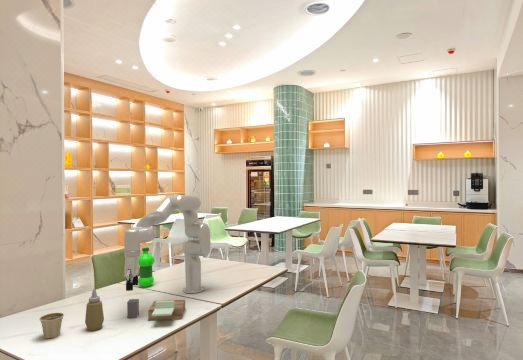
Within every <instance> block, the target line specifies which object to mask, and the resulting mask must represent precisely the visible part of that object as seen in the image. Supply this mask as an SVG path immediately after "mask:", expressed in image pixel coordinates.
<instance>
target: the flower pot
mask: <svg viewBox="0 0 523 360" xmlns="http://www.w3.org/2000/svg"><path fill="white" fill-rule="evenodd" d="M64 316H65V313H63V312H52V313H45V314H44V315H41V316H40V317H39V321H40V323H41V328H42V334H43V338H44V339H51V338H52V339H55V338H57V337H59V336H60V335H61V330H62V323H63V322H62V321H63V319H64Z"/></svg>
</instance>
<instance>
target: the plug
mask: <svg viewBox="0 0 523 360" xmlns="http://www.w3.org/2000/svg"><path fill="white" fill-rule="evenodd" d="M126 305H127V310H126V314H127V319H137V318H138V317H139V315H140V299H139V298H133V299H132V298H130V299H129V300H127V304H126Z"/></svg>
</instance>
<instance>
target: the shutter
mask: <svg viewBox="0 0 523 360" xmlns="http://www.w3.org/2000/svg"><path fill="white" fill-rule="evenodd" d="M157 301H158V302H155V310H154V312H153V313H152V316H168V315H172V313H173V311H174V301H164V300H157Z"/></svg>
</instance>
